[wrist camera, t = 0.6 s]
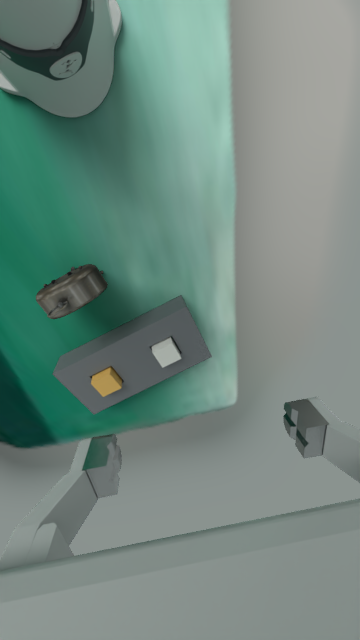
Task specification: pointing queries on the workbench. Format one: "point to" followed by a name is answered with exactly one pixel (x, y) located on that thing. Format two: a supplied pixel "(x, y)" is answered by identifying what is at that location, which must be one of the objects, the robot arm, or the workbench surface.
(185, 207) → the workbench surface
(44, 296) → the alarm clock
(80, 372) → the control box
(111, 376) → the orange key
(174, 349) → the white key
